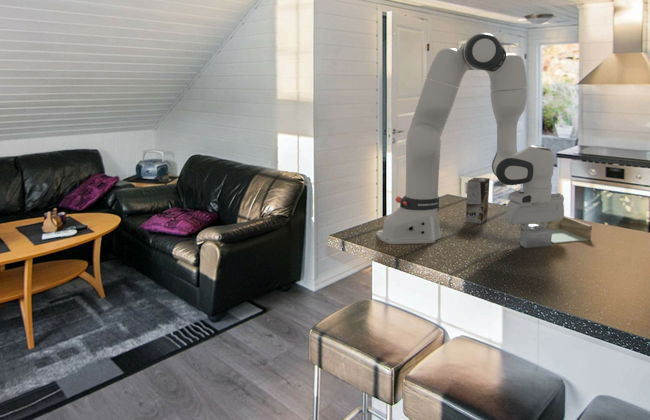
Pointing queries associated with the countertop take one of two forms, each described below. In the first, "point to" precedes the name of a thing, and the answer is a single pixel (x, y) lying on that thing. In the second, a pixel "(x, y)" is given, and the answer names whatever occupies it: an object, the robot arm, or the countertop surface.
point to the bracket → (535, 236)
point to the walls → (570, 227)
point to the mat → (564, 236)
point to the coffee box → (477, 200)
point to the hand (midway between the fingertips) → (533, 234)
